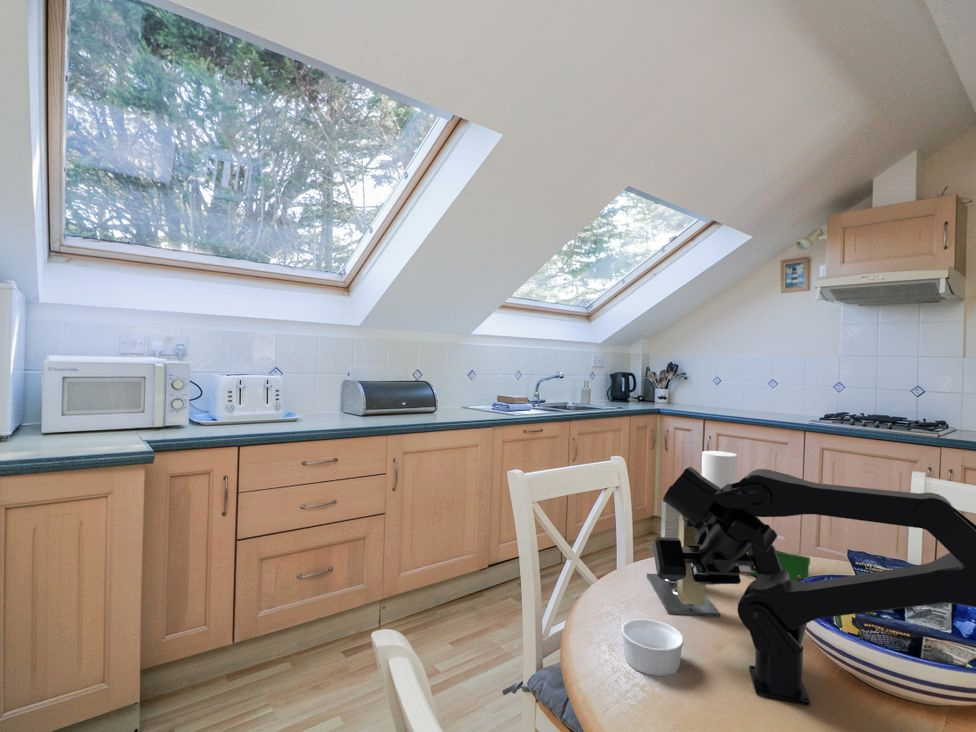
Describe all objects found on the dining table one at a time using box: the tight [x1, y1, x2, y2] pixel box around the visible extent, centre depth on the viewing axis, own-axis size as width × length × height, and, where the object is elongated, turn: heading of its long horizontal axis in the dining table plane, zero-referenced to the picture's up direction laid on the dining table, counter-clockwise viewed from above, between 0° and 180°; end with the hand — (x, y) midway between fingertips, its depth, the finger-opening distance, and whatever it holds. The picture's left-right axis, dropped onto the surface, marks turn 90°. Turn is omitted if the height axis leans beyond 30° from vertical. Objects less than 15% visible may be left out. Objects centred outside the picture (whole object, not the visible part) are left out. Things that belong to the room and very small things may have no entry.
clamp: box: [747, 550, 811, 581], centre depth 111 cm, size 12×6×9 cm, turn 47°
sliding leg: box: [677, 516, 706, 606], centre depth 94 cm, size 3×4×16 cm
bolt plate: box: [646, 498, 721, 618], centre depth 100 cm, size 16×9×17 cm, turn 176°
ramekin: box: [621, 618, 685, 677], centre depth 77 cm, size 9×9×4 cm
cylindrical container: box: [701, 450, 738, 489], centre depth 116 cm, size 7×7×25 cm
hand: (701, 581), depth 88 cm, fingers closed
